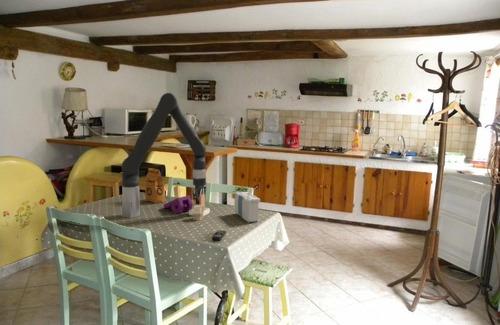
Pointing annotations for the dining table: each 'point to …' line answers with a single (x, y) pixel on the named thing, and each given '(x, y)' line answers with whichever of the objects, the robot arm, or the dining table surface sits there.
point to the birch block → (198, 212)
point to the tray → (206, 211)
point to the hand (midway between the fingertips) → (199, 205)
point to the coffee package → (154, 186)
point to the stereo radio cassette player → (247, 206)
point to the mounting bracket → (180, 204)
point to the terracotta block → (201, 200)
